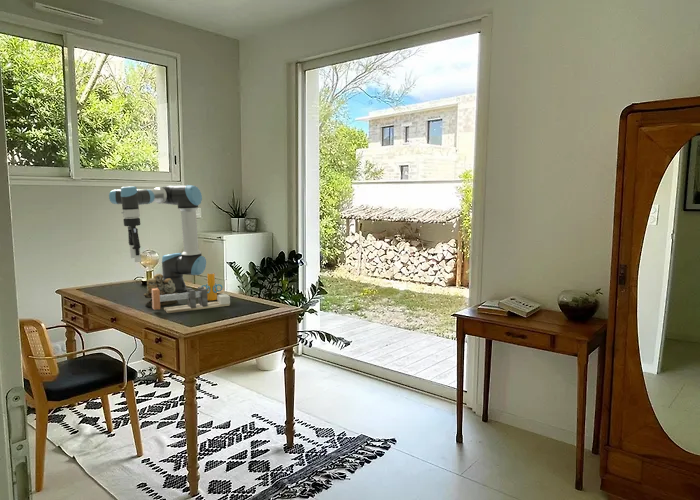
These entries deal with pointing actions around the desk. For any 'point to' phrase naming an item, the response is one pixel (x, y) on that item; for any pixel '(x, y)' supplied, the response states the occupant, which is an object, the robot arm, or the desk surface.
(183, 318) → the desk surface
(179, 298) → the shaft
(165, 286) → the brown rough lump
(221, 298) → the block
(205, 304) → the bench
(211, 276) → the sippy cup
